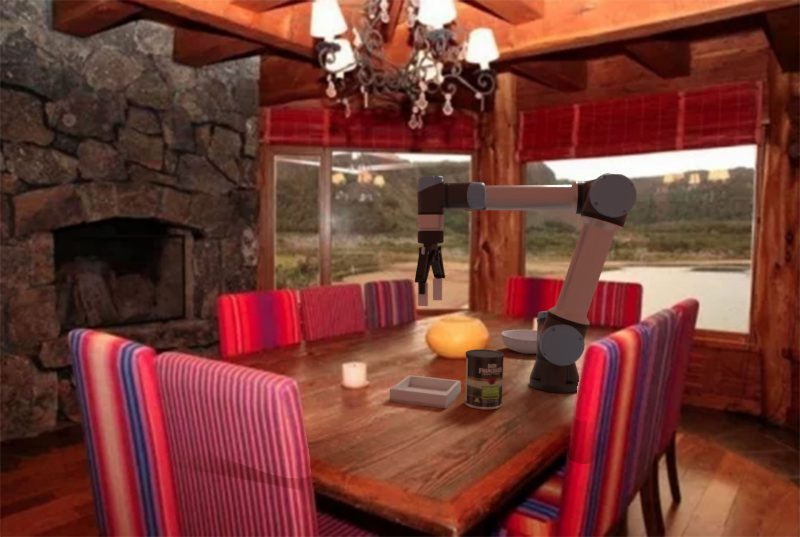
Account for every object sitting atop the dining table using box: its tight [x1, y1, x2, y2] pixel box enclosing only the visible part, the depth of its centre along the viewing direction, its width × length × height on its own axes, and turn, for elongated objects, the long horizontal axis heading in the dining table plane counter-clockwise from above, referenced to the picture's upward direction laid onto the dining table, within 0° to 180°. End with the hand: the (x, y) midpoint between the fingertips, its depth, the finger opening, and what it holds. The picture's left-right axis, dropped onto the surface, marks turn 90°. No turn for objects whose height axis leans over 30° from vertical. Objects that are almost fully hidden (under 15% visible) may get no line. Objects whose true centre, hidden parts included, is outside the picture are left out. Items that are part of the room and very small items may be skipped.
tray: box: [389, 374, 462, 409], centre depth 164 cm, size 16×16×4 cm
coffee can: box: [464, 348, 505, 411], centre depth 159 cm, size 10×10×14 cm
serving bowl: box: [500, 329, 537, 355], centre depth 227 cm, size 21×21×7 cm
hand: (430, 303), depth 170 cm, fingers open, 13 cm apart
